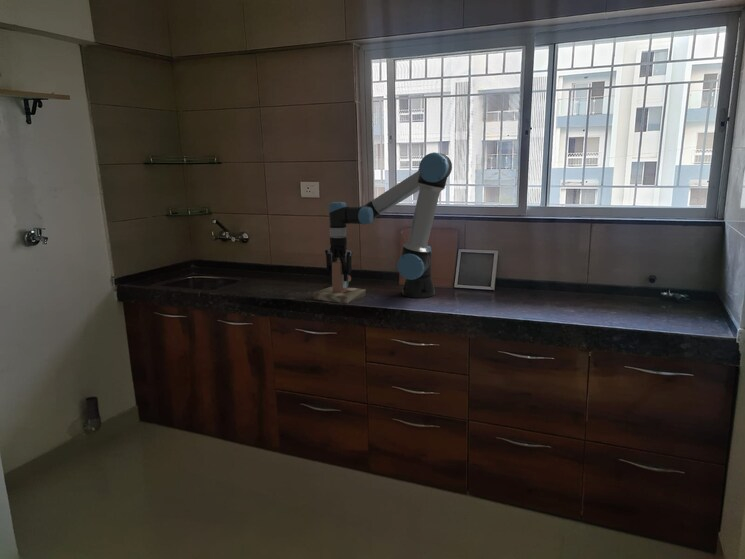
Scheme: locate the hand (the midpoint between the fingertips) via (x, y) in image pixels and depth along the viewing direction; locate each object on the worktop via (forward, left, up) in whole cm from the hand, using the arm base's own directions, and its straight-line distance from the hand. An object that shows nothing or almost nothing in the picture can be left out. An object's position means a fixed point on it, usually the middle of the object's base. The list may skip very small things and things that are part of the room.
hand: (339, 287), depth 240 cm
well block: (0, 0, -5) cm, 5 cm away
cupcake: (+10, -18, -5) cm, 21 cm away
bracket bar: (0, 0, -2) cm, 2 cm away
